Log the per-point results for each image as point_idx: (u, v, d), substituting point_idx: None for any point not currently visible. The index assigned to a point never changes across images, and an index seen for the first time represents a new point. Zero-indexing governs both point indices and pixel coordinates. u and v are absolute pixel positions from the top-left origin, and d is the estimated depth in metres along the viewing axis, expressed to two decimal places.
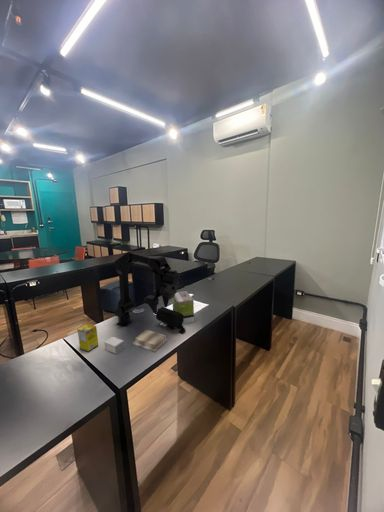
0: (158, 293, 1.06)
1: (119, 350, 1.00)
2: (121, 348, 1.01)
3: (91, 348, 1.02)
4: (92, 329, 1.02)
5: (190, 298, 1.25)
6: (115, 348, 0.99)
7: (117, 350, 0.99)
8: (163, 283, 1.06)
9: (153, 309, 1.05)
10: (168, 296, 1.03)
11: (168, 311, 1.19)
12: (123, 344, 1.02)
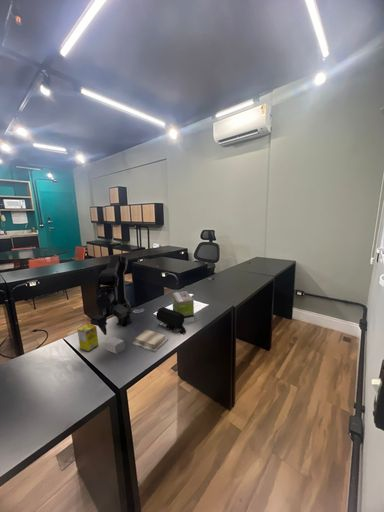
0: (108, 312, 0.96)
1: (119, 350, 1.00)
2: (121, 348, 1.01)
3: (91, 348, 1.02)
4: (92, 329, 1.02)
5: (190, 298, 1.25)
6: (115, 348, 0.99)
7: (117, 350, 0.99)
8: (113, 301, 0.96)
9: (102, 330, 0.96)
10: (117, 316, 0.94)
11: (168, 311, 1.19)
12: (123, 344, 1.02)
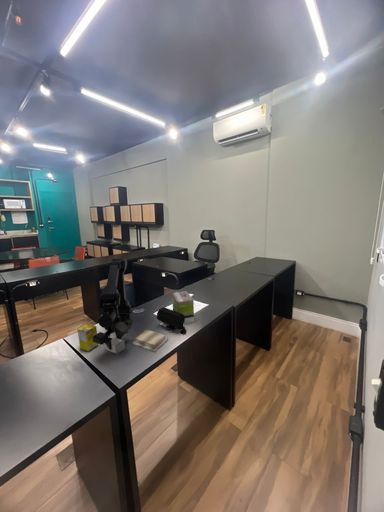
0: (109, 329, 0.98)
1: (119, 350, 1.00)
2: (121, 348, 1.01)
3: (91, 348, 1.02)
4: (92, 329, 1.02)
5: (190, 298, 1.25)
6: (115, 348, 0.99)
7: (117, 350, 0.99)
8: (115, 319, 0.98)
9: (107, 345, 0.99)
10: (119, 334, 0.96)
11: (169, 311, 1.19)
12: (123, 344, 1.02)
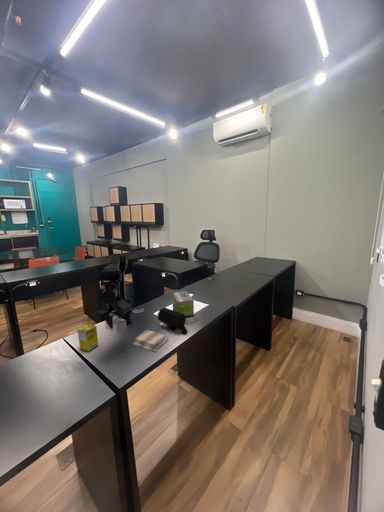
0: (111, 307, 0.96)
1: (120, 329, 0.98)
2: (123, 327, 1.00)
3: (91, 348, 1.02)
4: (92, 329, 1.02)
5: (190, 298, 1.25)
6: (116, 326, 0.97)
7: (118, 328, 0.97)
8: (116, 296, 0.96)
9: (108, 323, 0.97)
10: (120, 311, 0.94)
11: (170, 312, 1.18)
12: (124, 323, 1.00)
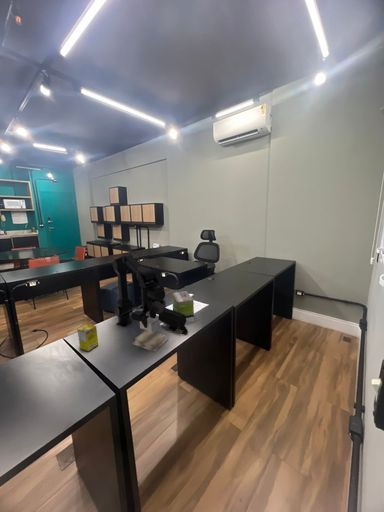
0: (146, 308, 1.01)
1: (154, 328, 1.03)
2: (156, 326, 1.05)
3: (91, 348, 1.02)
4: (92, 329, 1.02)
5: (190, 298, 1.25)
6: (151, 326, 1.02)
7: (153, 328, 1.02)
8: None
9: (143, 323, 1.02)
10: (156, 311, 0.99)
11: (170, 312, 1.18)
12: (158, 323, 1.05)
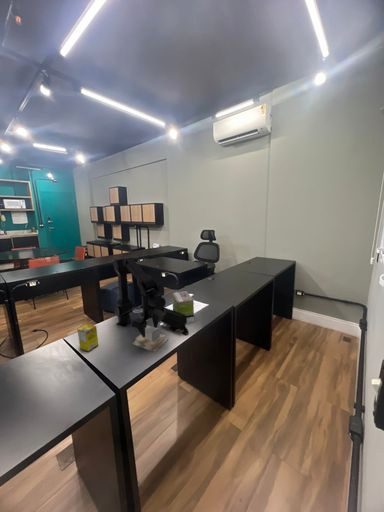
0: (146, 315, 1.02)
1: (155, 338, 1.04)
2: (157, 336, 1.06)
3: (91, 348, 1.02)
4: (92, 329, 1.02)
5: (190, 298, 1.25)
6: (152, 335, 1.03)
7: (153, 337, 1.03)
8: (152, 305, 1.02)
9: (141, 332, 1.01)
10: (157, 319, 1.00)
11: (171, 312, 1.18)
12: (158, 332, 1.06)
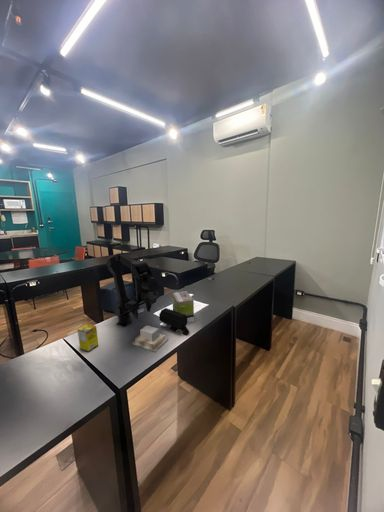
0: (139, 298, 1.07)
1: (155, 338, 1.04)
2: (157, 336, 1.06)
3: (91, 348, 1.02)
4: (92, 329, 1.02)
5: (190, 298, 1.25)
6: (152, 335, 1.03)
7: (153, 337, 1.03)
8: (145, 289, 1.07)
9: (134, 314, 1.06)
10: (149, 302, 1.04)
11: (172, 312, 1.17)
12: (158, 332, 1.06)
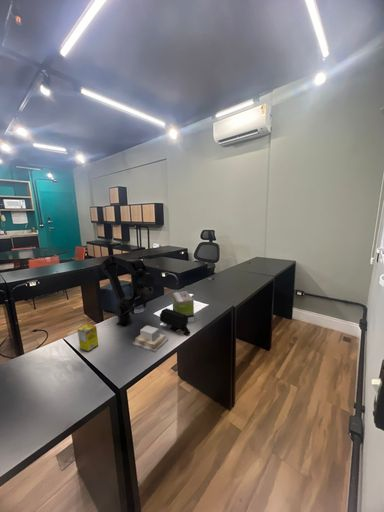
0: (135, 294, 1.11)
1: (155, 338, 1.04)
2: (157, 336, 1.06)
3: (91, 348, 1.02)
4: (92, 329, 1.02)
5: (190, 298, 1.25)
6: (152, 335, 1.03)
7: (153, 337, 1.03)
8: (140, 284, 1.11)
9: (130, 309, 1.11)
10: (144, 297, 1.09)
11: (172, 313, 1.17)
12: (158, 332, 1.06)
